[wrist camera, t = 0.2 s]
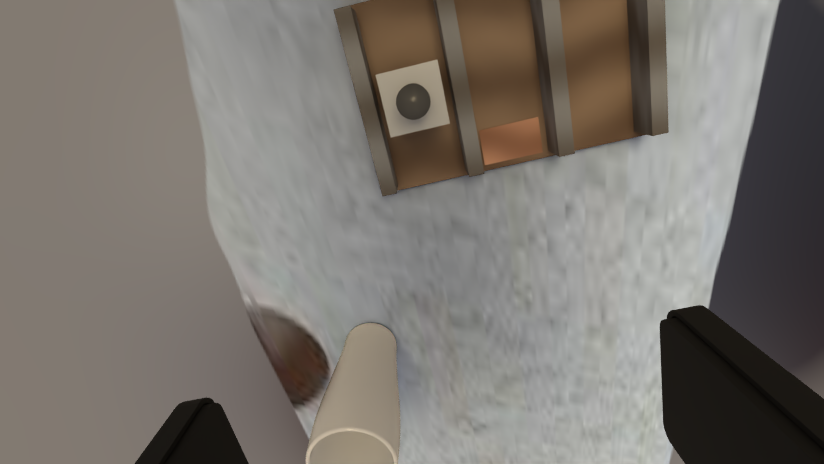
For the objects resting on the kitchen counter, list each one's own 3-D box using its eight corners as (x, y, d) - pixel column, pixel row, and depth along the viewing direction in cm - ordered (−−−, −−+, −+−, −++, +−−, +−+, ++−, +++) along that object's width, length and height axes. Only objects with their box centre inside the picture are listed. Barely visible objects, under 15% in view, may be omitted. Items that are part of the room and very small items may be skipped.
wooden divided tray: (340, 11, 34) (330, 2, 30) (633, -66, 32) (663, -87, 28) (386, 189, 39) (382, 202, 35) (642, 132, 37) (669, 138, 33)
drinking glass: (371, 380, 46) (352, 513, 32) (325, 340, 44) (284, 462, 30) (417, 343, 44) (418, 466, 30) (371, 301, 43) (350, 411, 29)
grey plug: (384, 75, 34) (370, 74, 24) (432, 63, 34) (440, 57, 24) (395, 125, 36) (388, 144, 25) (442, 114, 35) (453, 128, 25)
